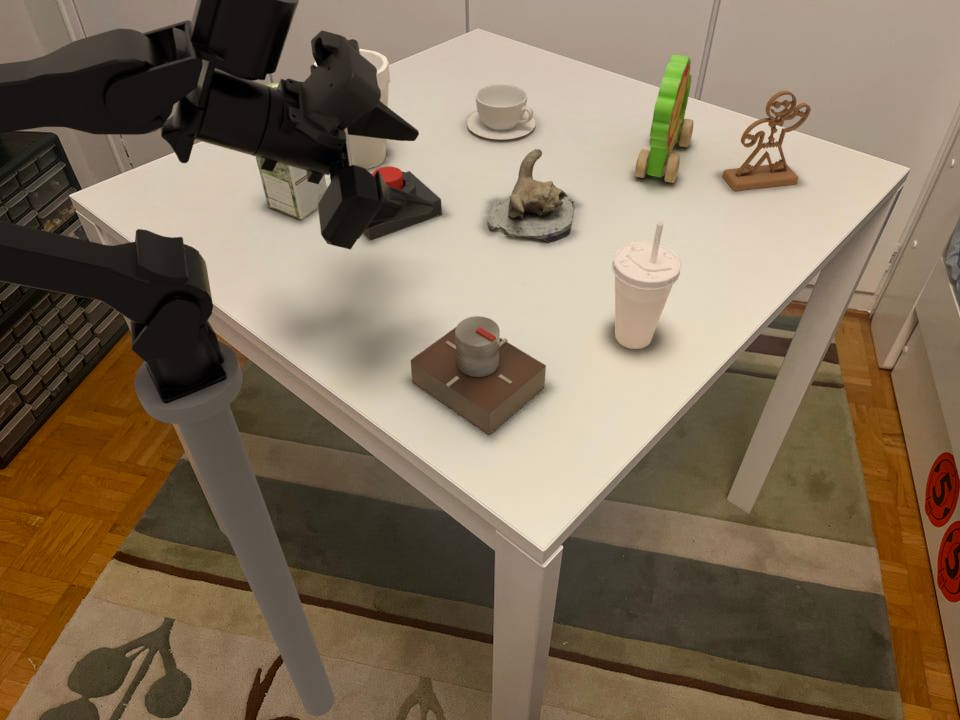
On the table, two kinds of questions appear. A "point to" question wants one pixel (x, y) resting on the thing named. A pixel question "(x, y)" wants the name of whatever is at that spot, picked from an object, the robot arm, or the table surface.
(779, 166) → the brown wooden figure
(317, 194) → the syrup box
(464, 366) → the heat knob
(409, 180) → the block
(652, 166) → the toy lion
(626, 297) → the smoothie
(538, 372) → the panel
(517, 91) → the teacup
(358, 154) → the foam cup
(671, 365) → the table surface
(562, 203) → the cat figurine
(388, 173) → the button
